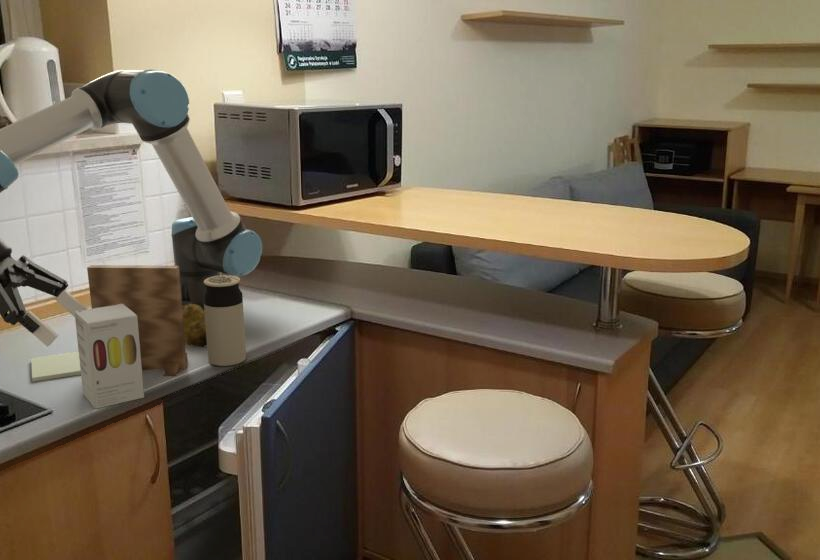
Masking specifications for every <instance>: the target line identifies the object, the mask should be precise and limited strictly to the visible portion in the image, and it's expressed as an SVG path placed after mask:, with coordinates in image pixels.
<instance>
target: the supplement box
mask: <svg viewBox="0 0 820 560" xmlns="http://www.w3.org/2000/svg"><path fill="white" fill-rule="evenodd" d="M87 309H88V308H87ZM74 321H75V329H76V338H77V339H76V340H77V347H78V349H77V350H78V351H79V360H80V369H81V374H80V378H81V386H82V394H83V395H84V396H85V398H86V399H87V401H89V403H90V404H91V406H92V407H93V408H94V409H100V408H101V409H102V408H104V407H105V408H106V407H109V406H113V405H117V404H123V403H127V402H131V401H135V400H140V399H144V398H145V392H144V389H145V388H144V381H143V380H144V378H143V370H142V366H141V355H140V343H139V331H138V320H137V315H136V314H135V313H134V312H132V311H131V310H130V309H129V308H127V307H126V306H125V305H124V304H118V305H112V306H106V307H100V308H94V309H92V308H90V309H88V310H82V311H75V317H74ZM78 351H77V352H78Z"/></svg>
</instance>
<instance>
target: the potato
mask: <svg viewBox="0 0 820 560" xmlns="http://www.w3.org/2000/svg"><path fill="white" fill-rule="evenodd" d="M182 309H183V322H184V334H185V344H186V345H188V346H192V347H200V348H201V347H207V337H206V323H205V310H204V311H203V309H202V308H201V306H199V305H196V304H186V305H184V306H182Z"/></svg>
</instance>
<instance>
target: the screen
mask: <svg viewBox="0 0 820 560" xmlns="http://www.w3.org/2000/svg"><path fill="white" fill-rule="evenodd" d="M86 270H87V279H88V286H89V287H88V289H89V294H90V295H89V296H90V297H89V298H90V303H91V304H90V305H91V307H90V308H91V309H94V308H100V307H106V306H112V305H118V304H124V305H125V306H126V307H127V308H129V309H130V310H131V311H132V312H134V313H135V314H136V315H137V320H138V331H139V343H140V355H141V366H142V371H163V376H164V377H177V376H178V374H179V373H180V372H181V371H186V369H187V368H188V353H187V350H186V348H187V347H186V343H185V334H184V322H183V309H182V297H181V285H180V272H179V266H175V265H148V264H146V265H139V264H138V265H135V264H134V265H133V264H132V265H131V264H130V265H129V264H128V265H127V264H126V265H125V264H123V265H122V264H118V265H117V264H114V265H113V264H111V265H110V264H91V265H89V266H88V267H86Z"/></svg>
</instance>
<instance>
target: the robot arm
mask: <svg viewBox="0 0 820 560" xmlns="http://www.w3.org/2000/svg"><path fill="white" fill-rule="evenodd" d="M70 94H71V96H70V97H67V98H65V99H63V100H60V101H59V102H56V103H54V104H52V105H50V106H47V107H44V108H43V109H41V110H39V111H37V112H34V113H31V114H30V115H28V116H26V117H24V118H21V119H19V120H17V121H15V122H13V123H10V124H8V125H5V126H4V127H1V128H0V194H1V193H2V192H3V191H5V190H7V189H8V188H9V187H10V186H11V185H12V184H13V183H14V182H15V181H16V180H18V179H19V170H18V168H17V166H16V165H17V164H20V163H21V162H23V161H26V160H28V159H30V158H32V157H33V156H36V155H39V154H40V153H42V152H44V151H46V150H48V149H50V148H53V147H54V146H57V145H58V144H61V143H62V142H64V141H66V140H69V139H71V138H73V137H75V136H76V135H79V134H80V133H83V132H85V131H87V130H89V129H90V130H94V131H98V130H100V129H102V128H104V127H107V126H111V125H115V124H123V123H124V124H131V125H132V126H133V128H134V129H135V130H136V134H138V136H139V138H140V139H141V141H142V142H144V143H146V144H150V145H152V147H153V149H154V150H155V152H156V154H157V156H158V158H159V160H160V162H161V163H162V165H163V167H164V169H165V171H166V172H167V174H168V176H169V178H170V179H171V182H172V183H173V185H174V187H175V189H176V190H177V193H178V194H179V196H180V198H181V200H182V201H183V203H184V205H185V206H186V208H187V210H188V212H189V214H190V216H189V217H185V218H180V219H176V220H175V221H173V223H171V235H170V236H171V241H172V250H173V263H174V265H173V266H179V272H180V285H181V297H182V306H184V305H186V304H196V305H199V306H201V308H202V309H203V311H204V312H205V310H204V294H205V292H206V285H205V284H204V280H205V279H207V278H209V277H213V276H220V275H222V274H224V275H231V276H236V277H243V276H247V275H248V274H251V272H252V271H254V270H255V268H256V267H257V266H258V264H259V263H260V260H261V255H262V254H263V242H262V239H261V237H260V235H258V233H256V231H254V230H251V229H247V228H246V226H245V224H244V221H243V220H242V218H241V216H240V215H239V214H238V213H237V212H235V211H231V210H230V209H229V207H228V205H227V203H226V201H225V199H224V197H223V195H222V193H221V191H220V190H219V187H218V185H217V183H216V181H215V179H214V178H213V176H212V174H211V172H210V170H209V168H208V166H207V164H206V162H205V160H204V158H203V157H202V154H201V153H200V150H199V148H198V147H197V145H196V143H195V141H194V138H193V137H192V135H191V133H190V131H189V128H188V126H189V123H190V121H191V120H190V116H189V114H188V113H189V105H190V97H189V94H188V91H187V89H186V87H185V86H184V84H183V83H182V82H181V81H180V80H179V78H178V77H176V76H175V75H173V74H171V73H169V72H166V71H162V70H158V69H144V70H143V69H142V70H140V69H139V70H136V69H134V70H133V69H120V70H119V69H118V70H115V71H112V72H109V73H107V74H105V75H102V76H100V77H97V78H96V79H94V80H92V81H89V82H88V83H86V84H84V85H81V86H79V87H77V88H75V89H74V90H72V92H71V93H70ZM12 253H13V249H12V247H11V246H10V245H8V244H7V243H6V242H5V241H4V240H2V238H0V317H1V318H2V319H3V321H4V322H5V323H7V324H10V325H12V326H15V325H16V324H17V323H19V324H20V325H21V326H22V327H23V328H24V329H26V330H27V331H28V332H29V333H31V334H32V335H33V336H35V338H37V339H38V340H39V341H40V342H41V343H42V344H44V345H45V346H46V347H49V346H51V345H52V343H53V342H55V340H56V339H57V338H58V337H59V334H58V333H57V332H55V331H54V329H52V328H51V327H50V326H49V325H48V324H46V323H45V322H44V321H43V320H42V319H40V318H39V317H38V316H37V315H36V314H35V313H34V312H32V311H31V310H29V311H28V312H27V310H26V307H25V305H24V302H23V299H22V296H21V294H20V292H19V289H18V288H19V287H29V288H32V289H34V290H37V291H39V292H42V293H46V294H48V295H50V296H52V297H56V298H55V299H54V300H55V301H56V302H57V304H60V306H61V307H63V308H64V309H65V310H66V311H67V312H68V313H69V314H70V315H72V316H73V317H74V318H75V311H82V310H88V308H87V307H86V306H85V305H84V304H83V303H82V302H80V301H79V300H78V299H77V298H75V297H74V296H73V295H72V294H71V293H70V292H69V291H68V290H67V288H68V287H69V284H68V281H67V280H66V279H64V278H62V277H60V276H59V275H58V274H57V275H56V274H55V273H53V272H51V271H49V270H48V269H46V268H44V267H42V266H41V265H38V264H37V263H35V262H33V261H32V260H31V259H29V258H28V257H27V256H26V255H24V254H23V255H21V256H20V257H19V258H18V259H17V260H16V259H15V258H13V257H12Z"/></svg>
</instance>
